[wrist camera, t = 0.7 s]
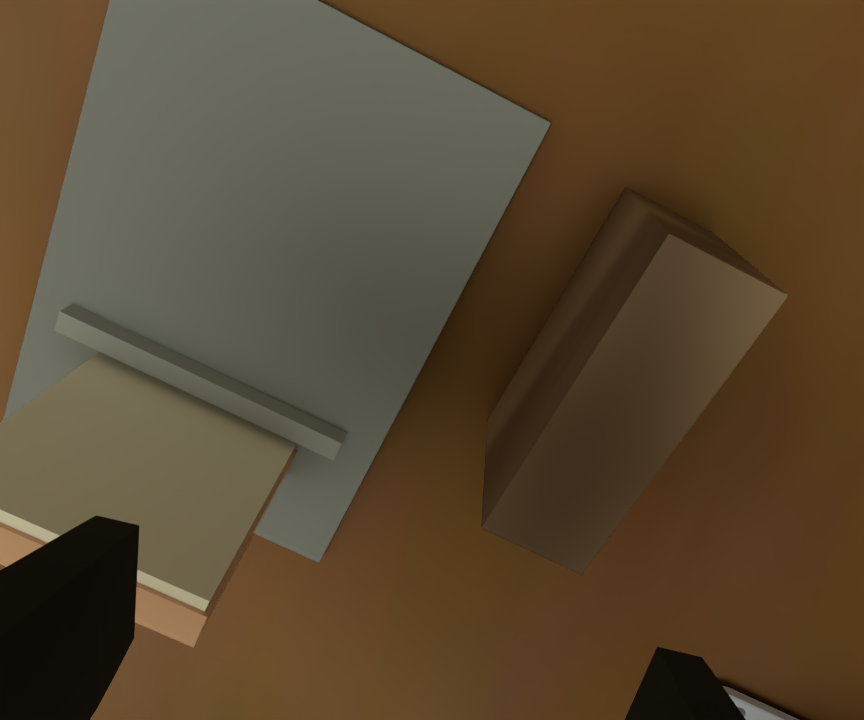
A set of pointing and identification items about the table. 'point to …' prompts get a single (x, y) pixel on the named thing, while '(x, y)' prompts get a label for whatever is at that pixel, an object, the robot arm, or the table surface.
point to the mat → (272, 226)
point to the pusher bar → (617, 379)
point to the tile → (141, 483)
